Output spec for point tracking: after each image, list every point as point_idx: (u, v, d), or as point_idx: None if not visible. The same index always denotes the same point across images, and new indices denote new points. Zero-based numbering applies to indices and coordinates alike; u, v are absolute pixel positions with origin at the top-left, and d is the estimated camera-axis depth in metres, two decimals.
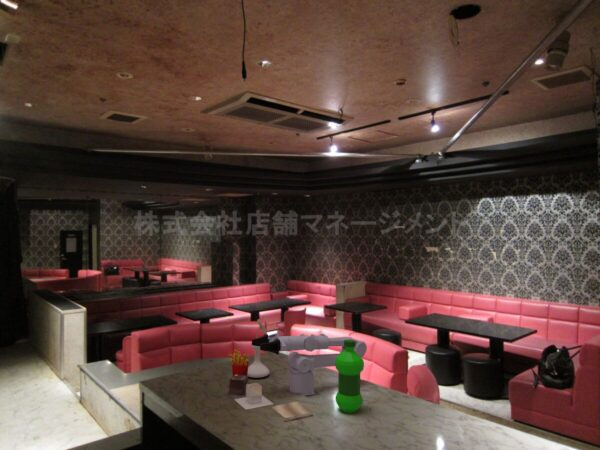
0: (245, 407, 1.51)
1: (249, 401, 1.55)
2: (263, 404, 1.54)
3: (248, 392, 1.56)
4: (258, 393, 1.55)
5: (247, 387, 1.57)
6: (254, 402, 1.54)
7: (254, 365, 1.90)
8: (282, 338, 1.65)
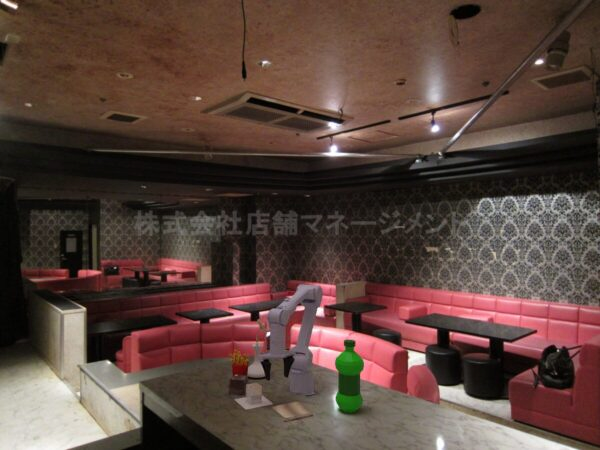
0: (245, 407, 1.51)
1: (249, 401, 1.55)
2: (263, 404, 1.54)
3: (248, 392, 1.56)
4: (258, 393, 1.55)
5: (247, 387, 1.57)
6: (254, 402, 1.54)
7: (254, 365, 1.90)
8: (284, 351, 1.55)
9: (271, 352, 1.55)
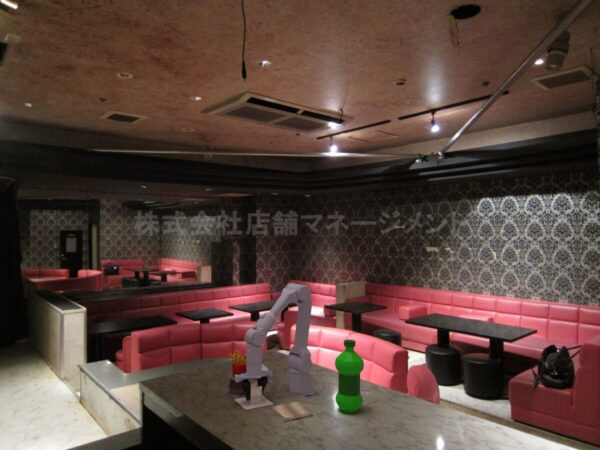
0: (245, 407, 1.51)
1: (249, 401, 1.55)
2: (263, 404, 1.54)
3: None
4: (258, 393, 1.55)
5: None
6: (254, 402, 1.54)
7: None
8: (260, 371, 1.56)
9: (248, 372, 1.55)
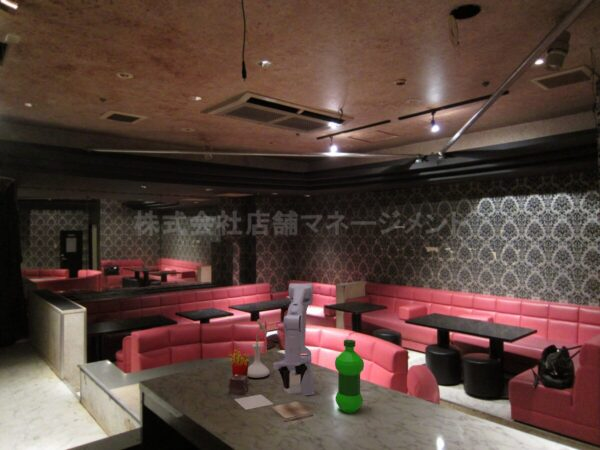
0: (245, 407, 1.51)
1: (288, 390, 1.48)
2: (263, 404, 1.54)
3: None
4: (297, 382, 1.49)
5: None
6: (293, 391, 1.48)
7: (254, 365, 1.90)
8: (299, 358, 1.49)
9: (286, 360, 1.49)
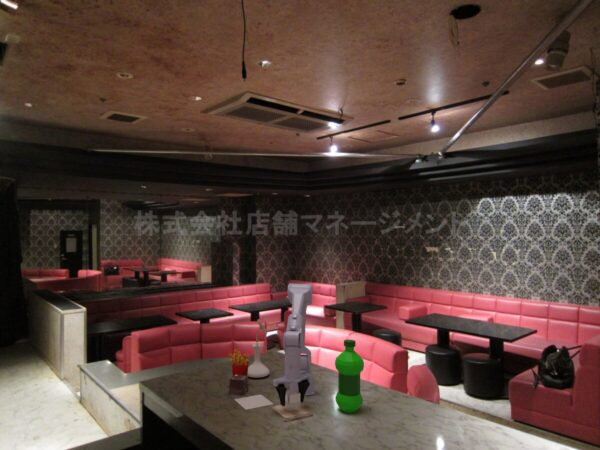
0: (245, 407, 1.51)
1: (287, 409, 1.48)
2: (263, 404, 1.54)
3: (286, 399, 1.49)
4: (297, 400, 1.49)
5: None
6: (292, 410, 1.48)
7: (254, 365, 1.90)
8: (299, 375, 1.49)
9: (286, 376, 1.49)
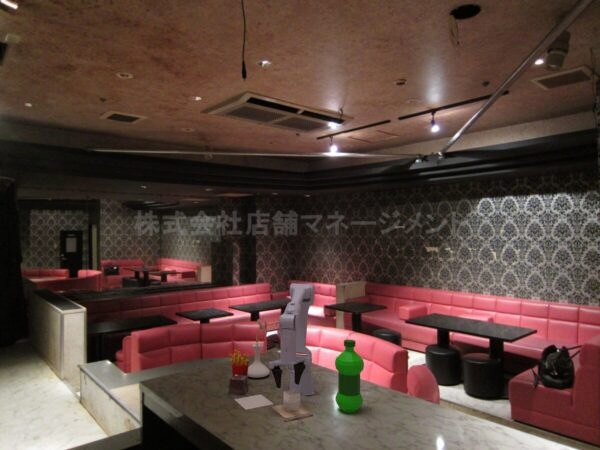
0: (245, 407, 1.51)
1: (287, 409, 1.48)
2: (263, 404, 1.54)
3: (286, 399, 1.49)
4: (297, 400, 1.49)
5: (285, 394, 1.50)
6: (292, 410, 1.48)
7: (254, 365, 1.90)
8: (295, 357, 1.51)
9: (282, 359, 1.50)
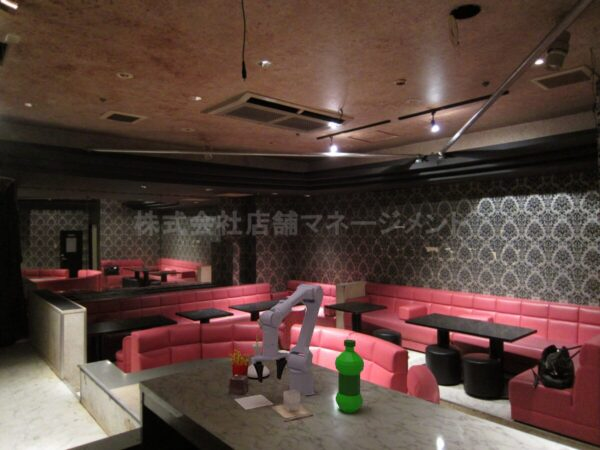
0: (245, 407, 1.51)
1: (287, 409, 1.48)
2: (263, 404, 1.54)
3: (286, 399, 1.49)
4: (297, 400, 1.49)
5: (285, 394, 1.50)
6: (292, 410, 1.48)
7: None
8: (276, 353, 1.56)
9: (264, 354, 1.55)
